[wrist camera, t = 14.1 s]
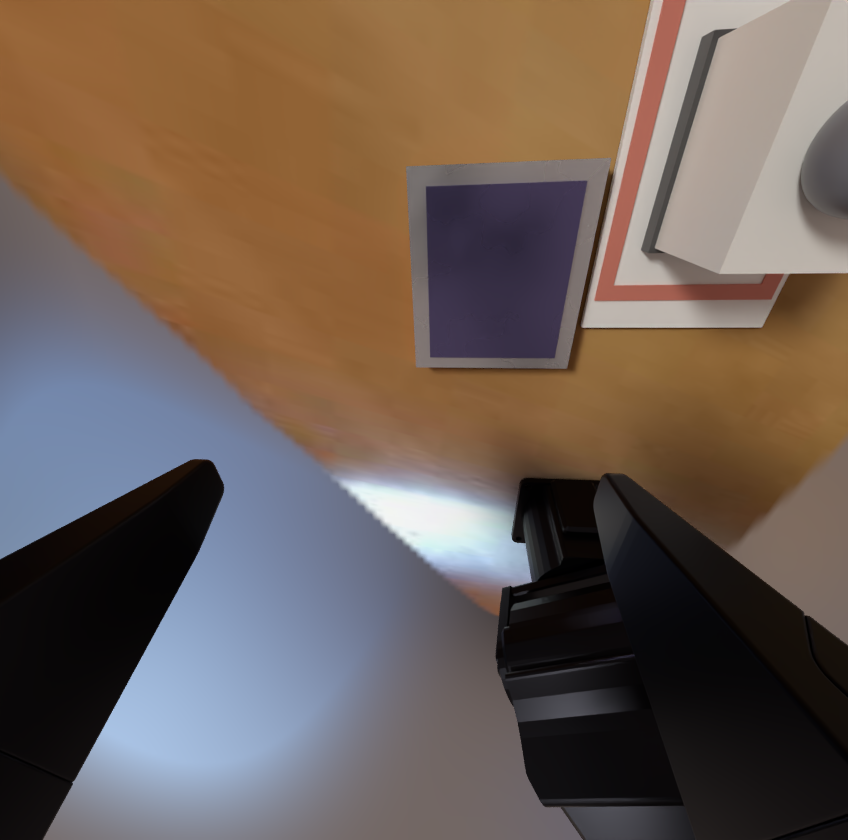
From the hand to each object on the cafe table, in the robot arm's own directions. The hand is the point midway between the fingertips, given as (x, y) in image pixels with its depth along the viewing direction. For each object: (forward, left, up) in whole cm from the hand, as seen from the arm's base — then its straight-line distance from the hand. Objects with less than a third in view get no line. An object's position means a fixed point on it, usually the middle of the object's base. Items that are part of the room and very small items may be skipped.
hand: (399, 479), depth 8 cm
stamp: (+6, -12, -13) cm, 18 cm away
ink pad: (+2, -3, -13) cm, 13 cm away
